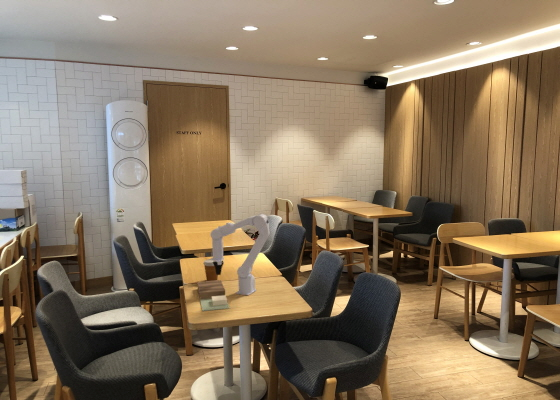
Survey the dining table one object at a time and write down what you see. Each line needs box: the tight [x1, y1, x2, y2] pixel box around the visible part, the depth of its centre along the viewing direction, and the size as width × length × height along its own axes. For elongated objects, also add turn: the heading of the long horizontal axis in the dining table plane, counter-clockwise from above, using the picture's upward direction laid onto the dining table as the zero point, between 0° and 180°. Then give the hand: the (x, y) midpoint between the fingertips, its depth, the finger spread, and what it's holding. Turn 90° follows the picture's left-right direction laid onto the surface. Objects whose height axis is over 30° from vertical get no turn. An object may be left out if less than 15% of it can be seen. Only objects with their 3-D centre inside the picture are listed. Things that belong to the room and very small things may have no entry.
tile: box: [212, 294, 228, 306], centre depth 216 cm, size 7×7×2 cm
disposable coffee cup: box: [203, 258, 219, 281], centre depth 256 cm, size 10×10×12 cm
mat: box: [199, 298, 230, 312], centre depth 215 cm, size 17×13×1 cm
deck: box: [197, 279, 226, 300], centre depth 232 cm, size 20×13×4 cm, turn 14°
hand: (218, 274), depth 234 cm, fingers closed
